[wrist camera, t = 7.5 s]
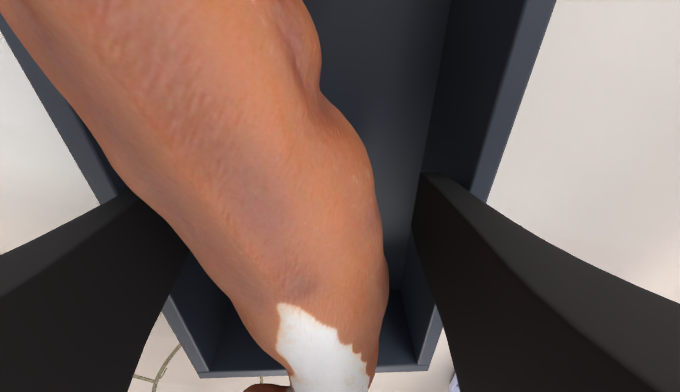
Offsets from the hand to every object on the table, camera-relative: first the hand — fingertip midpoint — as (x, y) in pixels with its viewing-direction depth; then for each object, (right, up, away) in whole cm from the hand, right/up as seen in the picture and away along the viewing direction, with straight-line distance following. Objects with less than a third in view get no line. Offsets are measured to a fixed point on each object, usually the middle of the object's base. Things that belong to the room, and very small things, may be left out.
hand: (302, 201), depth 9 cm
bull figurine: (0, +2, +2) cm, 3 cm away
